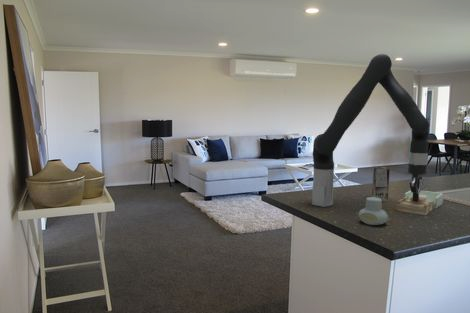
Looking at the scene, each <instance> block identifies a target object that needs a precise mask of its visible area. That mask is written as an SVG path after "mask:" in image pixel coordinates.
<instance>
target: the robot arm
mask: <svg viewBox="0 0 470 313" xmlns="http://www.w3.org/2000/svg"><path fill="white" fill-rule="evenodd" d="M392 65H393V64H392V59H391V57H390V56H389V55H388V54H385V53H381V54H376V55H375V56H374V57H372V58H371V60H370V62H369V64H368V65H367V67H366V69H365V71H364V73H363V74H362V76H361V77H360V79H358V81H357V82H356V84H355V85H354V86H353V87H352V89H351V90H350V91H349V92H348V94H347V95H346V96H345V97H344V99H343V100H342V102H341V103H340V105H339V106H338V108H337V110H336V113H335V115H334V118H333V120H332V121H331V123H330V124H329V126H328V127H327V129H326V130H325V131H324V132H323V133H320V134H318V135H317V136H316V137H315V138H314V140H313V146H312V147H313V148H312V149H313V152H312V153H313V154H312V155H313V156H312V158H313V159H312V161H313V174H312V177H313V179H312V180H313V183H312V194H311V195H312V197H311V205H312V206H317V207H321V208H325V207H331V206H333V203H334V202H333V201H334V179H335V176H334V174H335V162H334V161H335V160H334V151H335V150H336V149H337V146H338V145H339V143H340V141H341V140H342V138H343V136H344V134H345V132H346V131H347V130H348V129H349V127H350V126H352V124H353V123H354V122H355V120H356V119H357V117H358V116H359V115H360V113H361V112H362V110H363V109H364V108H365V107H366V104H367V103H368V101H369V99H370V97H371V95H372V94H373V91H374V89H375V88H376V87H377V85H378V84H380V85H381V86H382V88H383V89H384V90H385V92H386V93H387V94H388V96H389V97H390V99H391V100H392V101H393V103H394V105H395V106H396V108H397V109H398V110H399V112H400V113H401V115H402V116H403V118H404V119H405V121H406V122H407V124H408V126H409V127H410V129H411V139H410V144H409V154H408V163H407V164H408V165H407V167H408V168H407V173H408V174H411V175H412V177H411V178H410V182H409V188H410V190H411V192H412V193H413V199H412V201H414V202H418V201H419V193H420V191H421V190H422V188H423V185H424V178H423V175H426V174H427V173H428V159H429V157H428V155H429V153H428V149H429V143H428V142H429V141H428V139H429V132H430V122H429V120H428V119H427V118H426V117H425V115H424V114H423V113H422V112H421V110H420V109H419V107H418V105H417V103H416V101H415V100H414V99H413V97H412V96H411V95H410V93H409V92H408V91H407V90H406V89H405V88H404V87H403V86H402V85H401V84H400V83H399V82H398V80H397V79H396V77H395V76H394V74H393V72H392V69H391V68H392Z"/></svg>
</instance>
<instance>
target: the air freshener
mask: <svg viewBox="0 0 470 313" xmlns="http://www.w3.org/2000/svg"><path fill="white" fill-rule="evenodd" d="M382 206H383V201H382V200H381V199H380V198H376V197H372V196H369V197H366V198H365V207H364V208H362V209H361V210H360V211H359V212H358V218H359V220H360V221H361V222H363V223H364V224H366V225H368V226H381V225H383V224H385V223H386V222H387V221H388V220H389V215H388V213H387V212H386V211H385V210H384V209H382Z"/></svg>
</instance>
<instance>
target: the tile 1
mask: <svg viewBox="0 0 470 313" xmlns="http://www.w3.org/2000/svg"><path fill="white" fill-rule="evenodd" d="M412 199H413V197H411V198H410V202H412V203H418V204H423V203H424V202H425V198H424V197H419V201H418V202H414V201H412Z"/></svg>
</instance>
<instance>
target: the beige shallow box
mask: <svg viewBox="0 0 470 313" xmlns="http://www.w3.org/2000/svg"><path fill="white" fill-rule="evenodd" d="M395 210H396V211H398V212H404V213H409V214H416V215H422V216H427V215H428V214H429V213H430V212H432V211H434V210H435V209H434V200H431V201H430V202H428V201H425V202H424V203H423V204H418V203H412V202H410V199H408V196H406V197H403V198H401V199H399V200H398V201H396V209H395Z"/></svg>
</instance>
